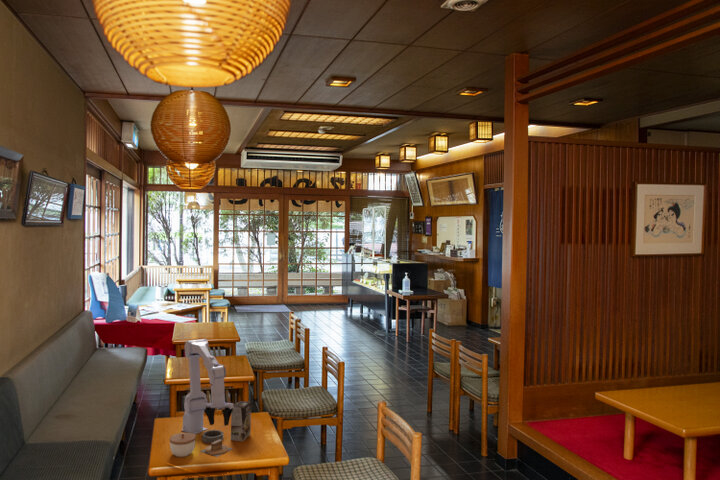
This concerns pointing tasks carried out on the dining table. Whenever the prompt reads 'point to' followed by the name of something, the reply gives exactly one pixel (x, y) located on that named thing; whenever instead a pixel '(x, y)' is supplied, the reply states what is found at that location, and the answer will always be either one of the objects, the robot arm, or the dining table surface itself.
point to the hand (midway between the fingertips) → (219, 424)
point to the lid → (216, 448)
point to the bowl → (212, 436)
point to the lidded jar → (182, 444)
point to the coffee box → (241, 421)
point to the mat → (216, 455)
